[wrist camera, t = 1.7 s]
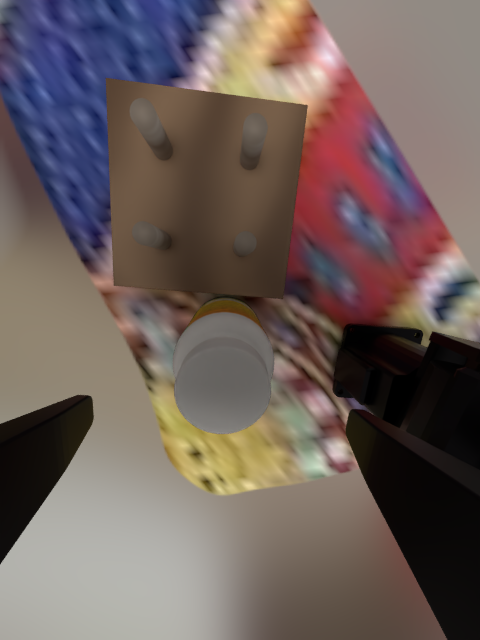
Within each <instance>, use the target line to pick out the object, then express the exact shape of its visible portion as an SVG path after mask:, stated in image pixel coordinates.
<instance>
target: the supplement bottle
mask: <svg viewBox="0 0 480 640" xmlns="http://www.w3.org/2000/svg"><path fill="white" fill-rule="evenodd" d="M273 370H274V354H273V349H272V346H271V343H270V341H269V339H268V337H267V335H266V333H265V331H264V329H263V328H262V326H261V324H260V322H259V320H258V318H257V316H256V314H255V313H254V312H253V310H252V309H251V308H250V307H249V306H248V305H247V304H246V303H244V302H243V301H241V300H239V299H236V298H231V297H219V298H215V299H213V300H210V301H208V302H207V303H205V304H204V305H203V306H202V307H201V308H200V309H199V310H198V311H197V313H196V314H195V316H194V317H193V319H192V320H191V322H190V323H189V325H188V326H187V328H186V329H185V331H184V332H183V334H182V335H181V337H180V338H179V340H178V342H177V344H176V347H175V350H174V355H173V372H174V376H175V379H176V380H175V385H174V395H175V400H176V404H177V406H178V408H179V410H180V412H181V414H182V415H183V416H184V417H185V419H186V420H187V421H189V422H190V423H191V424H192V425H194V426H195V427H197V428H199V429H201V430H204V431H206V432H210V433H216V434H229V433H234V432H238V431H241V430H243V429H245V428H247V427H249V426H251V425H252V424H254V423H255V422H256V421H257V420H258V419H259V418H260V417H261V416H262V415H263V413H264V412H265V410H266V408H267V406H268V403H269V400H270V395H271V383H270V380H271V378H272V375H273Z"/></svg>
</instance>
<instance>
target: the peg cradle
mask: <svg viewBox="0 0 480 640" xmlns="http://www.w3.org/2000/svg"><path fill="white" fill-rule="evenodd" d="M106 95H107V121H108V147H109V172H110V198H111V224H112V250H113V276H114V286H125V287H138V288H151V289H164V290H176V291H189V292H202V293H215V294H227V295H240V296H253V297H265V298H278V299H283V295H284V287H285V279H286V272H287V264H288V256H289V248H290V240H291V232H292V224H293V217H294V209H295V201H296V193H297V185H298V177H299V169H300V162H301V154H302V146H303V138H304V130H305V122H306V114H307V107H308V105H302V104H295V103H288V102H280V101H273V100H265V99H258V98H251V97H243V96H236V95H228V94H221V93H214V92H206V91H199V90H191V89H184V88H177V87H169V86H162V85H154V84H147V83H140V82H132V81H125V80H117V79H110V78H106Z"/></svg>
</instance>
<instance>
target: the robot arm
mask: <svg viewBox="0 0 480 640" xmlns="http://www.w3.org/2000/svg"><path fill="white" fill-rule="evenodd" d="M351 328H353V331H352V332H350V329H351ZM415 333H416V336H414V335H415ZM422 337H423V332H422V331H421V330H419V329H416V328H404V327H390V326H377V325H363V324H348V325H347V326H346V327H345V329H344V334H343V340H342V345H341V348H340V349H339V352H338V357H337V362H336V367H335V372H334V377H335V381H334V386H333V393H334V394H335V395H336V396H337V397H344V398H355V399H356V400H357V401H358V402H359V404H361V405H365V406H366V407H367V408H368V409H369V410H370V411H371V412H372V414H373V415H372V414H371V413H369V412H367V411H365V410H362V409H352V410H350V412H349V416H348V420H347V425H346V436H347V438H348V441H349V443H350V446H351V448H352V451H353V453H354V456H355V458H356V460H357V463H358V465H359V468H360V470H361V473H362V475H363V477H364V479H365V481H366V483H367V485H368V488H369V489H370V491H371V493H372V495H373V497H374V499H375V501H376V503H377V505H378V507H379V509H380V511H381V513H382V515H383V516H384V518H385V520H386V522H387V524H388V526H389V528H390V530H391V532H392V534H393V536H394V538H395V540H396V542H397V543H398V545H399V547H400V549H401V551H402V553H403V555H404V557H405V559H406V561H407V563H408V565H409V566H410V568H411V570H412V572H413V574H414V576H415V578H416V580H417V582H418V584H419V586H420V588H421V590H422V591H423V593H424V595H425V597H426V599H427V601H428V603H429V605H430V607H431V609H432V611H433V613H434V615H435V617H436V619H437V621H438V622H439V624H440V626H441V628H442V630H443V632H444V634H445V636H446V638H447V640H480V343H479V342H474V341H470V340H466V339H462V338H458V337H454V336H450V335H445V334H441V333H437V332H433V331H432V334H431V336H430V338H429V340H430V344H429V346H428V348H427V347H425V346H422V345H421V341H422ZM340 389H341V391H340V392H338V390H340ZM93 418H94V415H93V401H92V397H91V396H88V395H76V396H74V397H71V398H68V399H65V400H63V401H60V402H57V403H55V404H52V405H49V406H47V407H44V408H42V409H39V410H36V411H34V412H31V413H28V414H26V415H23V416H20V417H18V418H15V419H12V420H10V421H7V422H4V423H2V424H0V564H1V562H2V561H3V560H4V558H5V557H6V555H7V553H8V552H9V551H10V550H11V548H12V547H13V545H14V544H15V542H16V541H17V539H18V538H19V537H20V535H21V534H22V532H23V531H24V529H25V528H26V526H27V525H28V524H29V522H30V521H31V519H32V518H33V517H34V515H35V514H36V512H37V511H38V509H39V508H40V506H41V505H42V504H43V502H44V501H45V499H46V498H47V496H48V495H49V494H50V492H51V491H52V489H53V488H54V486H55V485H56V483H57V482H58V481H59V479H60V478H61V476H62V475H63V473H64V472H65V470H66V469H67V467H68V465H69V464H70V462H71V460H72V458H73V457H74V455H75V453H76V451H77V450H78V448H79V446H80V444H81V443H82V441H83V439H84V437H85V436H86V434H87V432H88V430H89V429H90V427H91V425H92V422H93Z"/></svg>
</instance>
